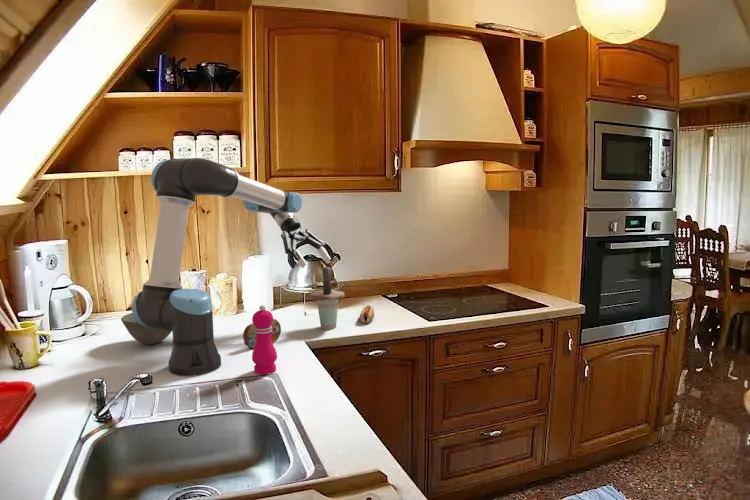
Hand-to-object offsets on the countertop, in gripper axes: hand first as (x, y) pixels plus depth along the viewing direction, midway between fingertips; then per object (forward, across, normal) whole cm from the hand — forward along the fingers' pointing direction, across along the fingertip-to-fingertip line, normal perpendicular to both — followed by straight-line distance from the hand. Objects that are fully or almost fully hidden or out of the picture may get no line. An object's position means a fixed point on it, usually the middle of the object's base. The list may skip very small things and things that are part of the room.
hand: (317, 263), depth 203 cm
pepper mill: (+32, +46, -2) cm, 56 cm away
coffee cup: (+21, +1, -13) cm, 25 cm away
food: (+26, -16, -9) cm, 31 cm away
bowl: (-6, +49, -41) cm, 65 cm away
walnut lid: (+12, +1, -5) cm, 13 cm away
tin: (+18, +29, -17) cm, 38 cm away
